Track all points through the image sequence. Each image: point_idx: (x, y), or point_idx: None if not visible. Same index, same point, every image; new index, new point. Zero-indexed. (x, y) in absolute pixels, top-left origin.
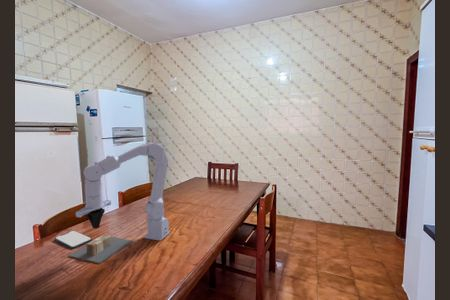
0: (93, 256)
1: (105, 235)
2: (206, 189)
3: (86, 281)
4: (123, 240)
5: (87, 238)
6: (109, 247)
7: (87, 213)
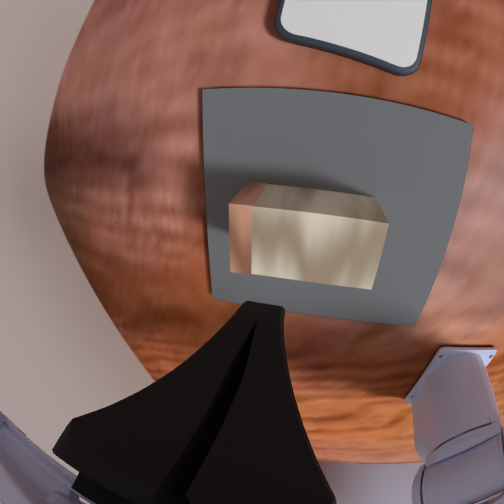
0: None
1: (381, 249)
2: None
3: (138, 306)
4: (418, 288)
5: (404, 40)
6: None
7: (70, 473)
